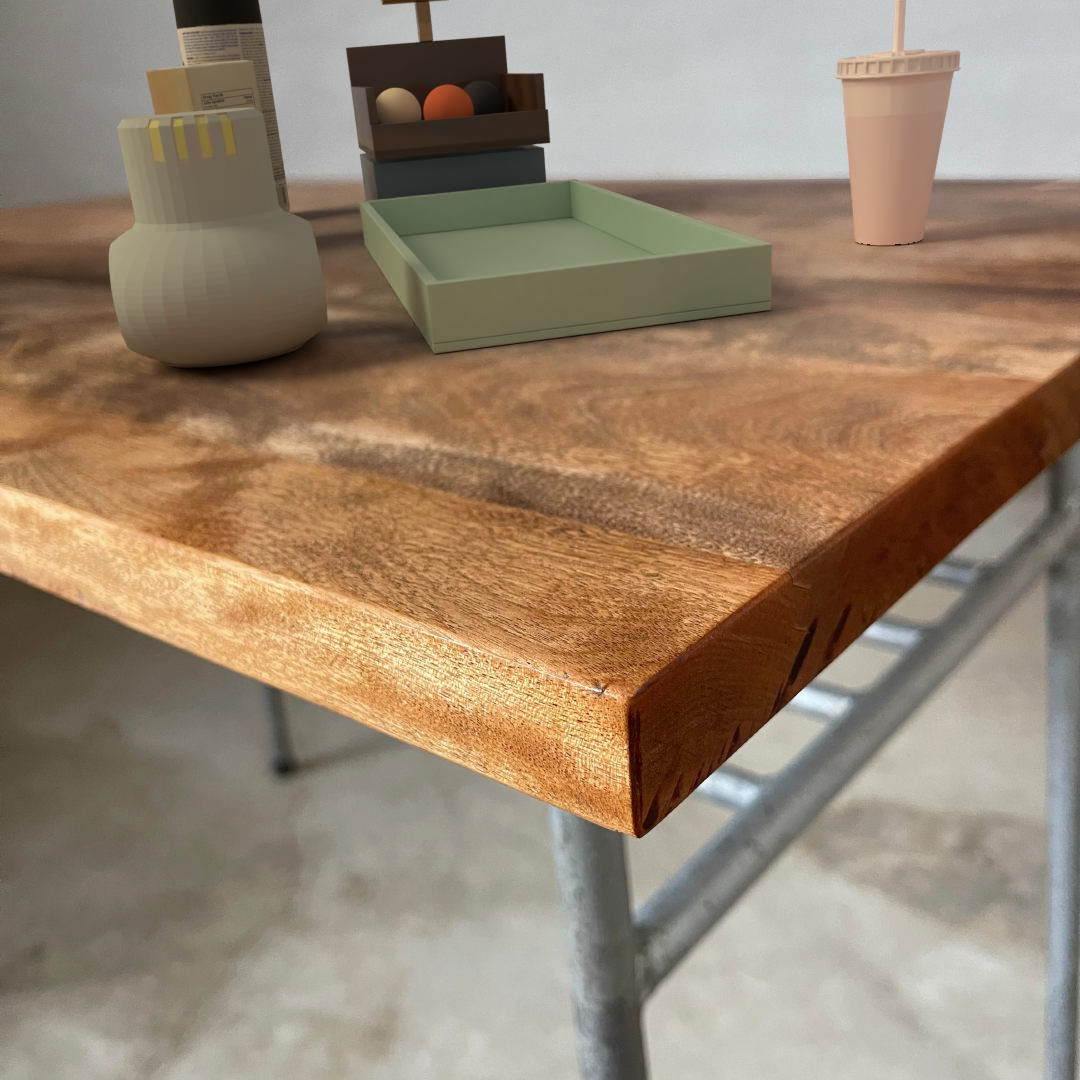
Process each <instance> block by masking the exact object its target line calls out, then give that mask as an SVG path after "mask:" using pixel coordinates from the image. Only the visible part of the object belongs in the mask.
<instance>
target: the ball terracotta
mask: <svg viewBox="0 0 1080 1080" xmlns="http://www.w3.org/2000/svg"><path fill="white" fill-rule="evenodd" d="M423 111H424V118H425V120H431V119H442V118H453V117H464V116H474V108H473V104H472V101H471V99H470V97H469V96H468V94H467V93H466V92H465V91H464V90H462V89H461V88H459V87H457V86H454V85H442V86H439V87H437V88H435V89H434V90H433V91H431V92H430V94H429V95H428V96H427V98H426V100H425V103H424V110H423Z"/></svg>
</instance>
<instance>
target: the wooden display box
mask: <svg viewBox="0 0 1080 1080" xmlns="http://www.w3.org/2000/svg"><path fill="white" fill-rule="evenodd" d="M445 1H448V0H380V2H381V5H382V6H388V5H405V4H414V10H415V19H416V20H415V21H416V29H417V37H418V41H415V42H413V41H412V42H402V43H390V44H375V45H363V46H362V45H361V46H350V47H345V54H346V60H347V61H346V62H347V67H348V68H347V70H348V75H349V76H348V77H349V83H350V91H351V97H352V98H351V99H352V107H353V115H354V121H355V129H356V136H357V144H358V149H360V151H362V152H363V153H367V154H368V155H369V156H371V157H372V158H374V159H375V160H380V159H391V158H401V157H411V156H421V155H432V154H442V153H452V152H463V151H473V150H483V149H494V148H504V147H514V146H524V145H544V144H551V135H550V133H551V132H550V120H549V119H550V118H549V117H550V116H549V109H547V106H546V105H547V104H546V103H547V102H546V89H545V74H544V73H543V72H517V73H516V72H509V71H508V70H509V69H508V59H507V58H508V57H507V46H506V45H507V43H506V35H503V34H502V35H491V36H490V35H489V36H478V37H464V38H451V39H437V40H434V33H433V23H432V13H431V6H430V3H433V2H445ZM474 81H487V82H490V83H492V84H493V85H495V86H496V87H497V88H498V89H499V90H500V92H501V94H502V96H503V98H504V103H505V110H504V113H497V114H486V115H475V116H464V117H453V118H442V119H431V120H425V118H424V111H423V110H424V103H425V100H426V98H427V96H428V95H429V94H430V92H431V91H433V90H434V89H435V88H437V87H439V86H442V85H454V86H457V87H459V88H461V89H462V90H463V89H464V87H466V86H467V85H468V84H470V83H472V82H474ZM391 88H401V89H405V90H407V91H409V92H410V93H411V94H413V95H414V96H415V98H416V99H417V101H418V102H419V105H420V108H421V120H420V121H409V122H398V123H387V124H379V122H378V114H377V106H376V99H377V98H378V96H379V95H380V94H381V93H382V92H384V91H385V90H388V89H391Z"/></svg>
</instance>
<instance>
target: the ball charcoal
mask: <svg viewBox="0 0 1080 1080" xmlns="http://www.w3.org/2000/svg"><path fill="white" fill-rule="evenodd" d="M463 90H464V91H465V92H466V93H467V94H468V96H469V97H470V99H471V101H472V104H473V108H474V116H475V115H486V114H497V113H504V110H505V103H504V98H503V96H502V94H501V92H500V90H499V89H498V88H497V87H496V86H495V85H493V84H492V83H490V82H487V81H474V82H472V83H470V84H468V85H467V86H466V87H464V89H463Z"/></svg>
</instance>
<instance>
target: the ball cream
mask: <svg viewBox="0 0 1080 1080" xmlns="http://www.w3.org/2000/svg"><path fill="white" fill-rule="evenodd" d="M376 106H377V114H378V122H379V124H387V123H398V122H409V121H420V120H421V108H420V105H419V102H418V101H417V99H416V98H415V96H414V95H413V94H411V93H410V92H409V91H407V90H405V89H401V88H391V89H388V90H385V91H384V92H382V93H381V94H380V95H379V96H378V98H377V99H376Z"/></svg>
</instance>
